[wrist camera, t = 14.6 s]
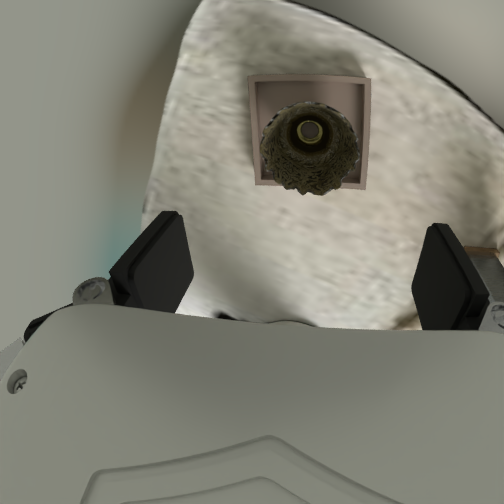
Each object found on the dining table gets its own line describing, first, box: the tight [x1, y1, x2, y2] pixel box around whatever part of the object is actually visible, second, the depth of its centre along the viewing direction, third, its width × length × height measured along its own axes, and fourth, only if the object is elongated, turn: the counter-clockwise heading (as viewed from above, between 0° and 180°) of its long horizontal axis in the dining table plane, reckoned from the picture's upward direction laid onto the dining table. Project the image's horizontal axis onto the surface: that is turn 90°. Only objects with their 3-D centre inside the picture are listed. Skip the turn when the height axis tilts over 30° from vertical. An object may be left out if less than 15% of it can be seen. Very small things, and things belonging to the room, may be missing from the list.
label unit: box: [464, 246, 504, 303], centre depth 29 cm, size 6×14×13 cm, turn 4°
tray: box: [248, 74, 371, 190], centre depth 27 cm, size 11×11×2 cm
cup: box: [260, 101, 360, 196], centre depth 24 cm, size 8×7×8 cm
